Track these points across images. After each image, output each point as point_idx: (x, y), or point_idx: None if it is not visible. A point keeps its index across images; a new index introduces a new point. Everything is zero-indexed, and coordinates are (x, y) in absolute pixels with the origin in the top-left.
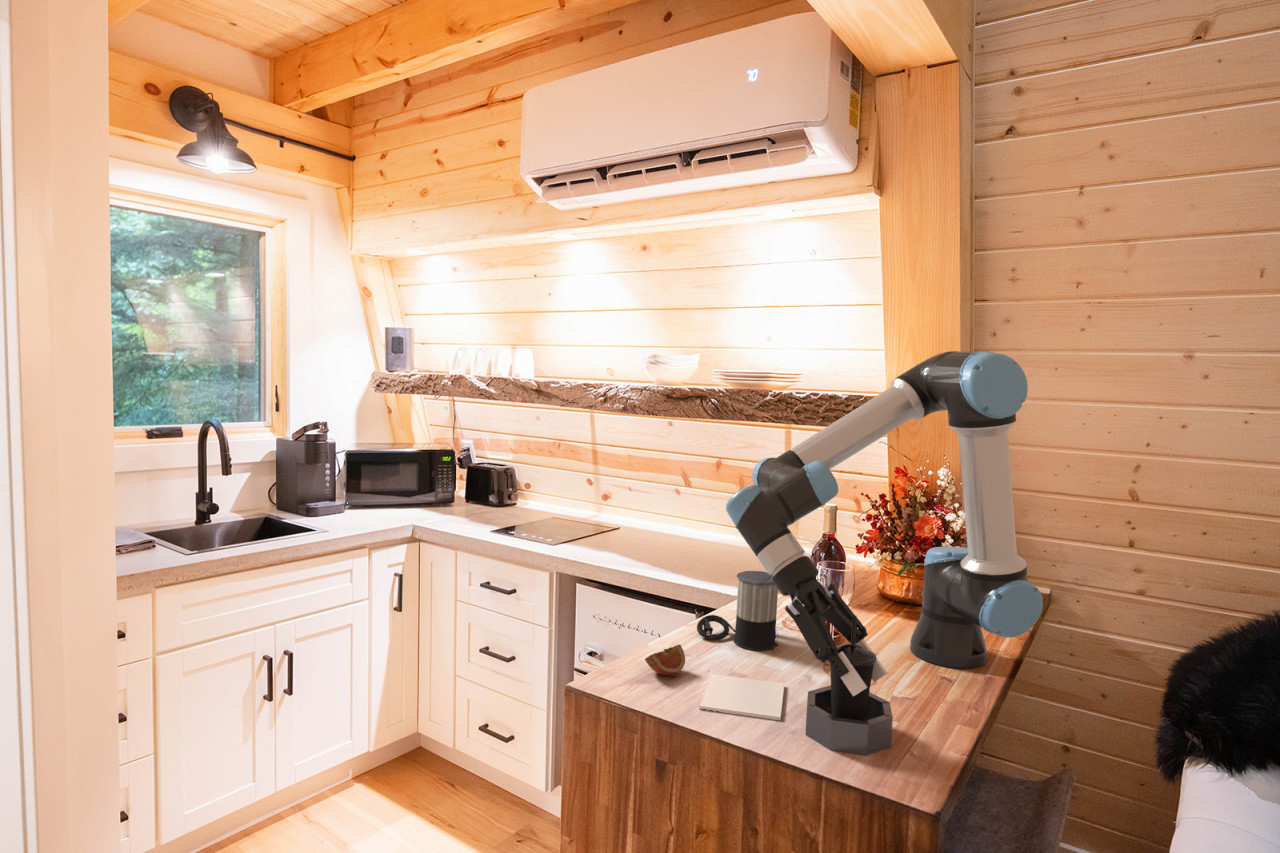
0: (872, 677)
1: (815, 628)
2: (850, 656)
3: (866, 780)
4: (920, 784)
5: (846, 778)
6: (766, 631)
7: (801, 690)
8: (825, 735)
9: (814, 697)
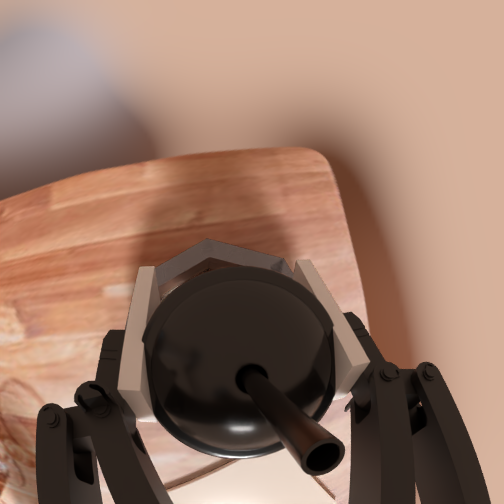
0: None
1: (461, 452)
2: (317, 340)
3: (329, 234)
4: (277, 175)
5: (347, 257)
6: None
7: None
8: None
9: None
